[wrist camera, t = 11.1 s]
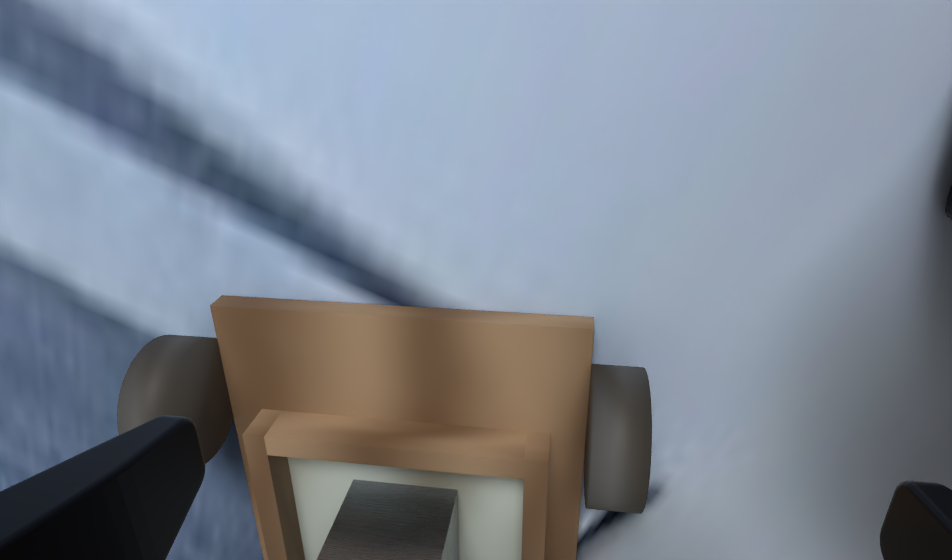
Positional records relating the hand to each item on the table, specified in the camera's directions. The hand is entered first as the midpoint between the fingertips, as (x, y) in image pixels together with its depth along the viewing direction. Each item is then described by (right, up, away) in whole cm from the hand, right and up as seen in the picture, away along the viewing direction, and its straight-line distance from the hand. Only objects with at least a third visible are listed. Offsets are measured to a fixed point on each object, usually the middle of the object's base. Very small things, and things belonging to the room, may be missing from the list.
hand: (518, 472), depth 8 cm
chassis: (-3, -8, +17) cm, 19 cm away
